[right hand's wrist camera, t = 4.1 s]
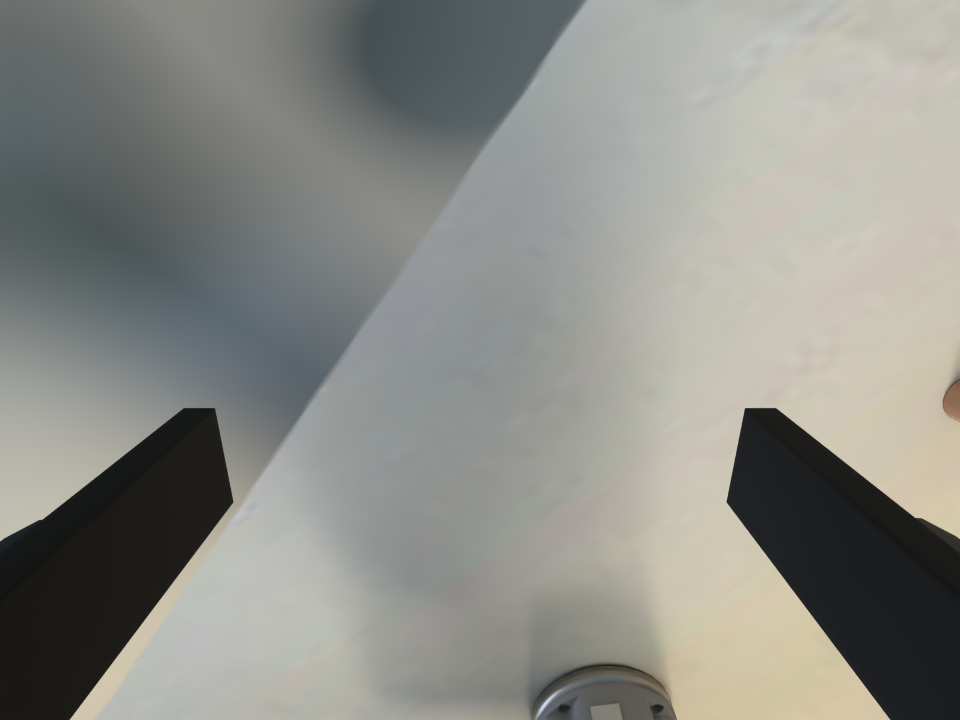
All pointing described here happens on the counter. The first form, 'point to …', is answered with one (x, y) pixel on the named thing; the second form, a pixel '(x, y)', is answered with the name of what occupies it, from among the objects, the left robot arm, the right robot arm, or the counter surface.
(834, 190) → the counter surface
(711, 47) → the counter surface
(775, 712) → the counter surface
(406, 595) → the counter surface
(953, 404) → the jar
